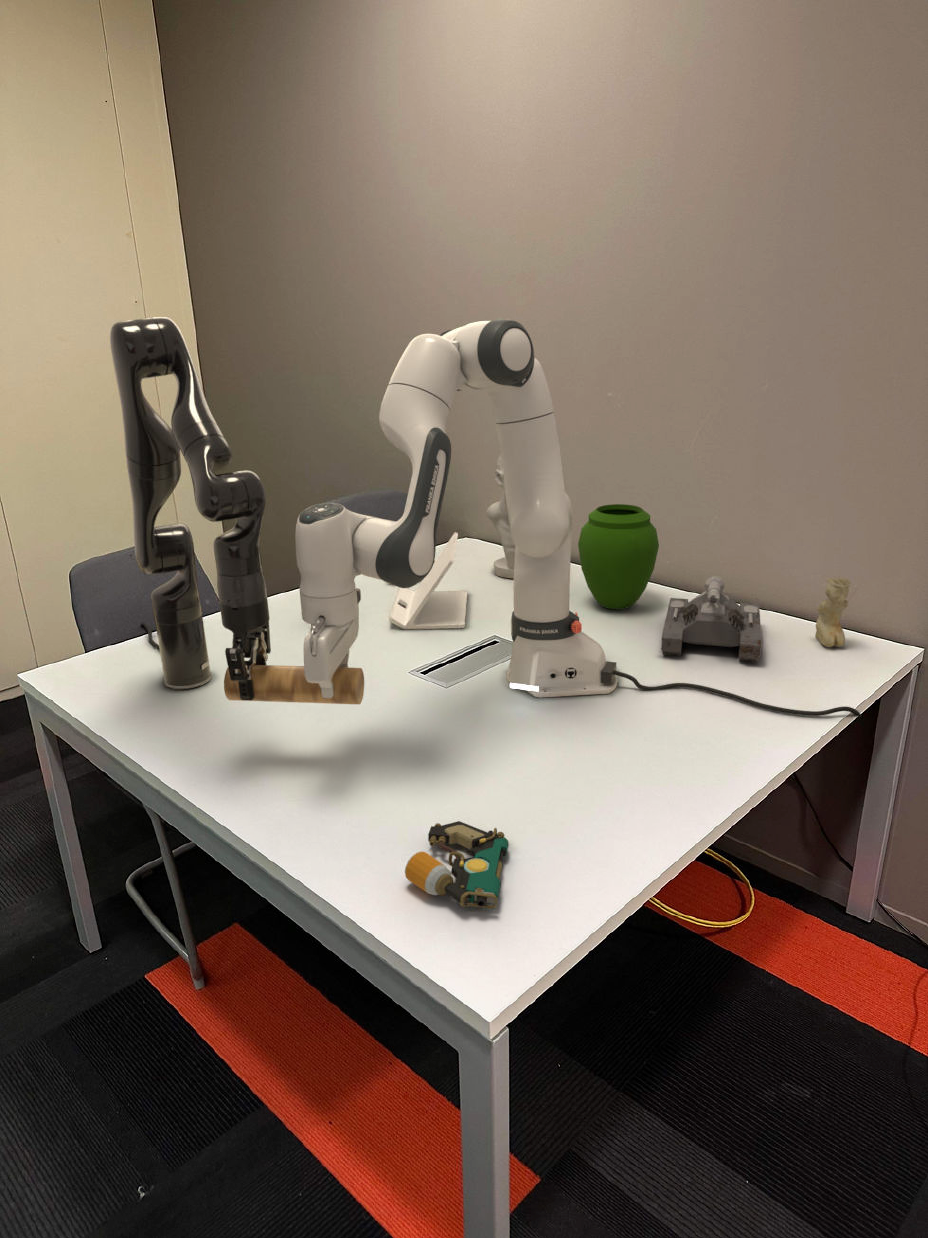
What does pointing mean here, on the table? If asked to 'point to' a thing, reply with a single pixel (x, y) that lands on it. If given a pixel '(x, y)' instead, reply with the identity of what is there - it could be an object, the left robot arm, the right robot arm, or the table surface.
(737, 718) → the table surface
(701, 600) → the toy
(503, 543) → the bust sculpture
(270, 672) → the rod
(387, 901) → the table surface
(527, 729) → the table surface
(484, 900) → the spray gun
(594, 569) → the vase
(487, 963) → the table surface
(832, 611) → the sculpture
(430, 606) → the tablet stand
